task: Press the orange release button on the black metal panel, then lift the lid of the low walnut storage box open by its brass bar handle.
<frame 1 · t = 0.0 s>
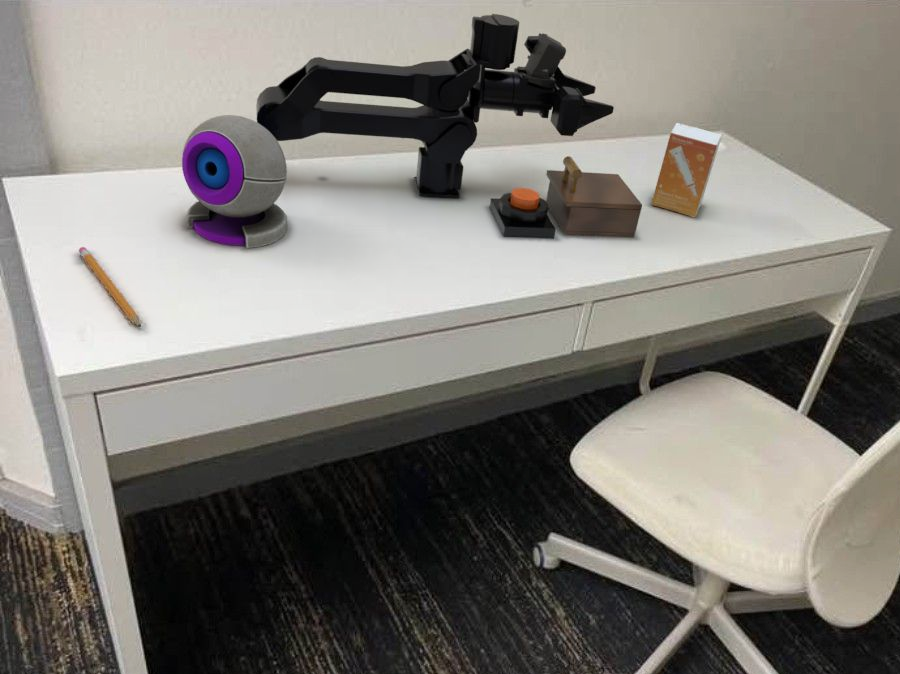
hand: (603, 99, 135), 17 cm above the table, tool horizontal, fingers open, 9 cm apart
small box: (675, 206, 149), on the table
webcam: (238, 227, 117), on the table
lid: (595, 178, 133), point 7 cm above the table, hinge at 0.0°
pencil: (110, 291, 100), on the table
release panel: (520, 223, 133), on the table
storage box: (589, 220, 138), on the table
release button: (524, 199, 130), point 4 cm above the table, slide at 0.1 cm
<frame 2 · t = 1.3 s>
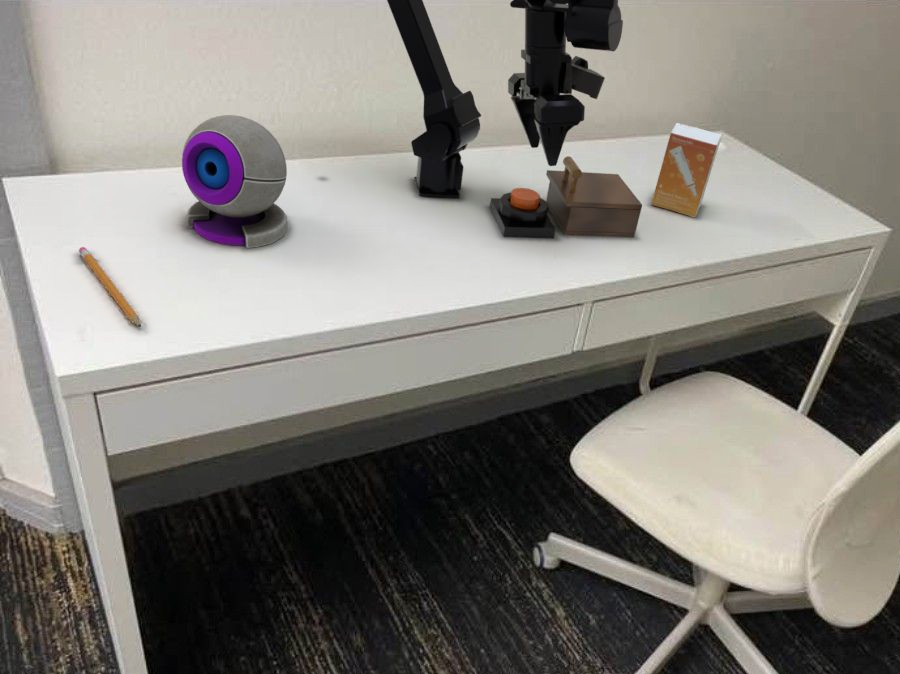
hand: (543, 156, 127), 11 cm above the table, tool pointing down, fingers open, 9 cm apart
nothing on the table moved.
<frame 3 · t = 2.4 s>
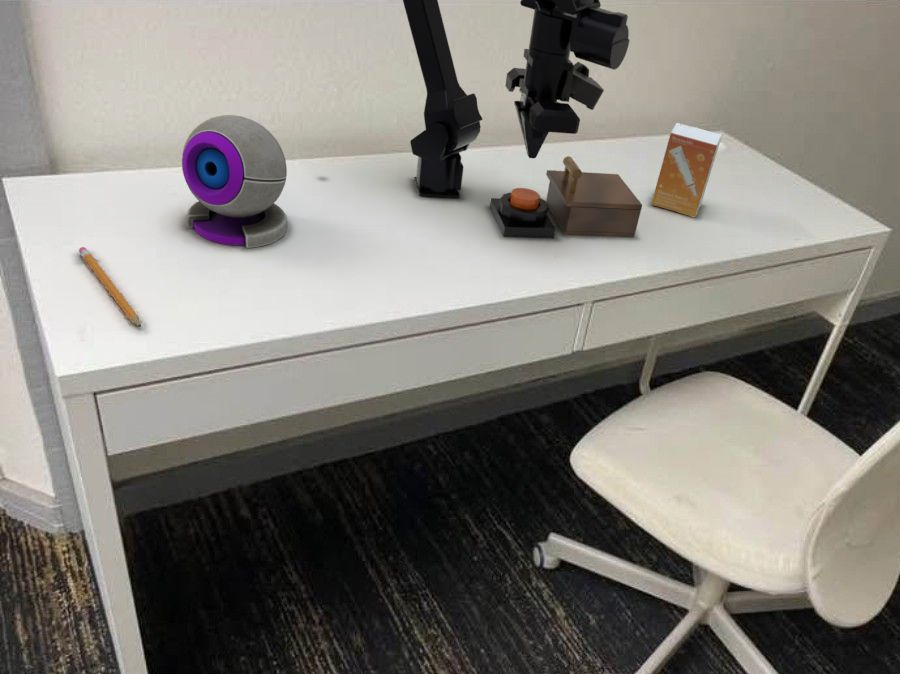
hand: (531, 157, 126), 11 cm above the table, tool pointing down, fingers closed
nothing on the table moved.
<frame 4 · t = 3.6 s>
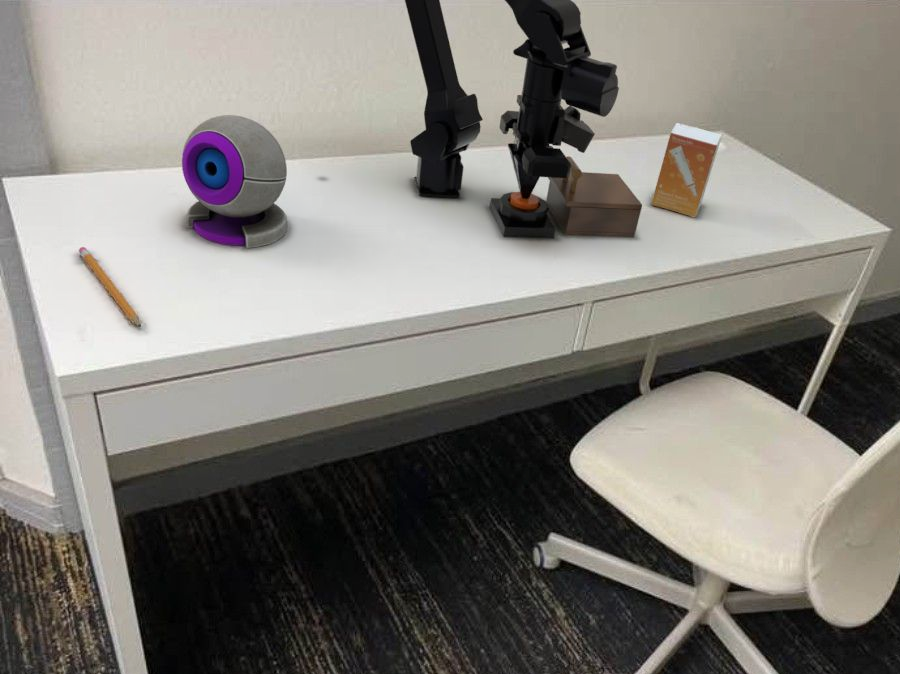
hand: (524, 197, 130), 4 cm above the table, tool pointing down, fingers closed, pressing on release button
release button: (524, 202, 131), point 3 cm above the table, slide at -0.5 cm, touching gripper
everything else where it was.
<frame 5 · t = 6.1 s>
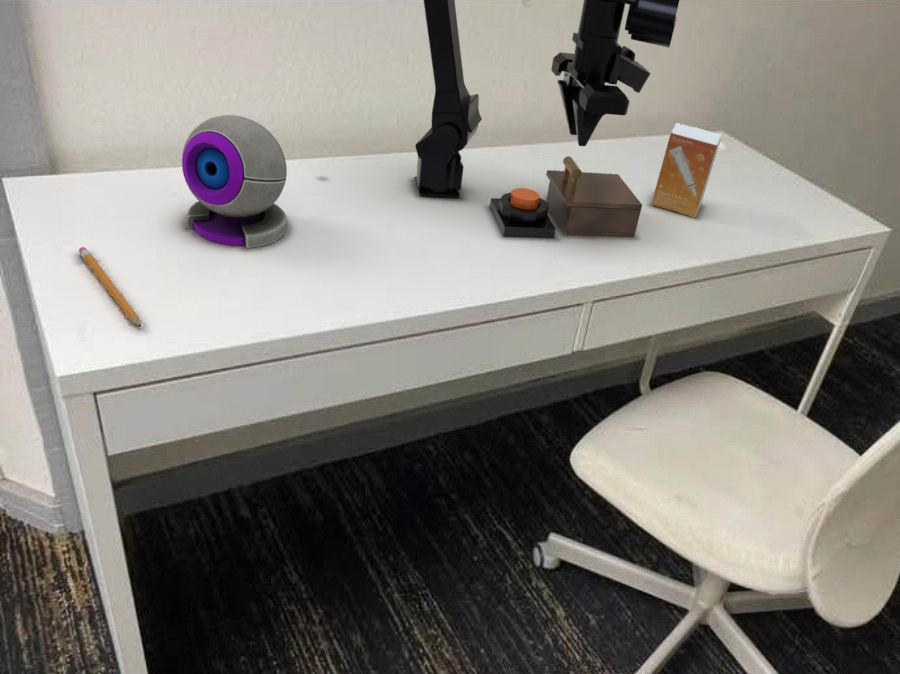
hand: (577, 140, 129), 13 cm above the table, tool pointing down, fingers open, 4 cm apart
release button: (524, 199, 130), point 4 cm above the table, slide at 0.1 cm
everything else where it was.
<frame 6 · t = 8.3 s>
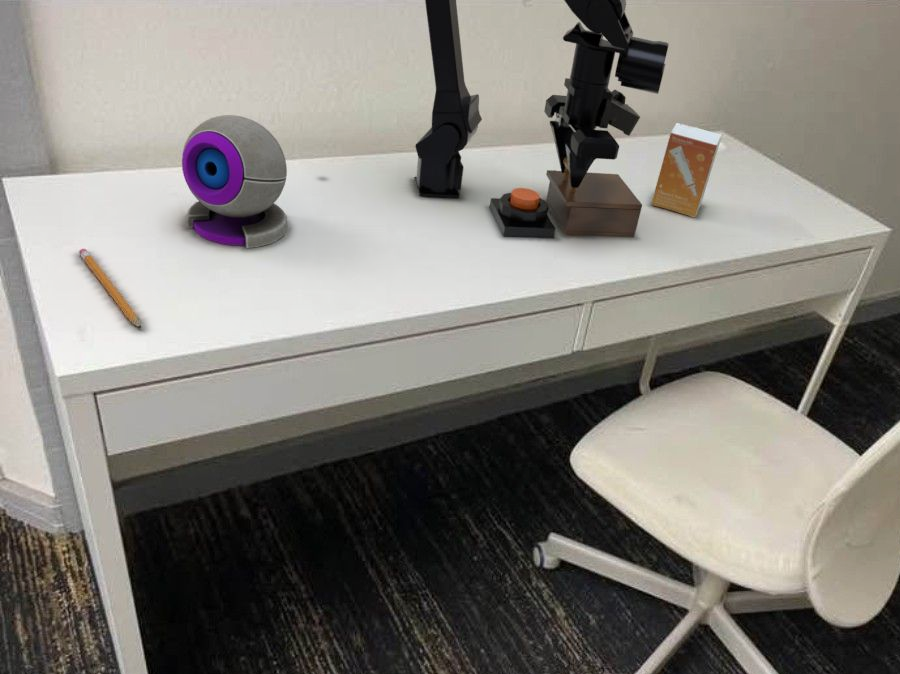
hand: (569, 180, 132), 7 cm above the table, tool pointing down, fingers closed on lid, 5 cm apart
lid: (595, 178, 133), point 7 cm above the table, hinge at 0.0°, touching gripper
everything else where it was.
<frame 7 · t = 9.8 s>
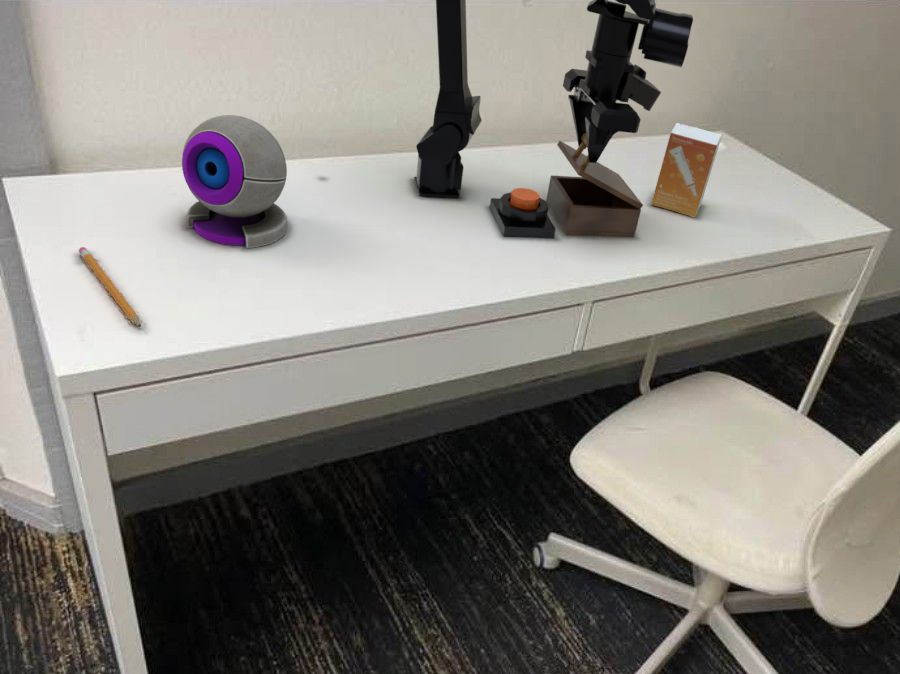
hand: (587, 155, 131), 11 cm above the table, tool pointing down, fingers closed on lid, 5 cm apart
lid: (606, 164, 132), point 10 cm above the table, hinge at 24.0°, touching gripper
everything else where it was.
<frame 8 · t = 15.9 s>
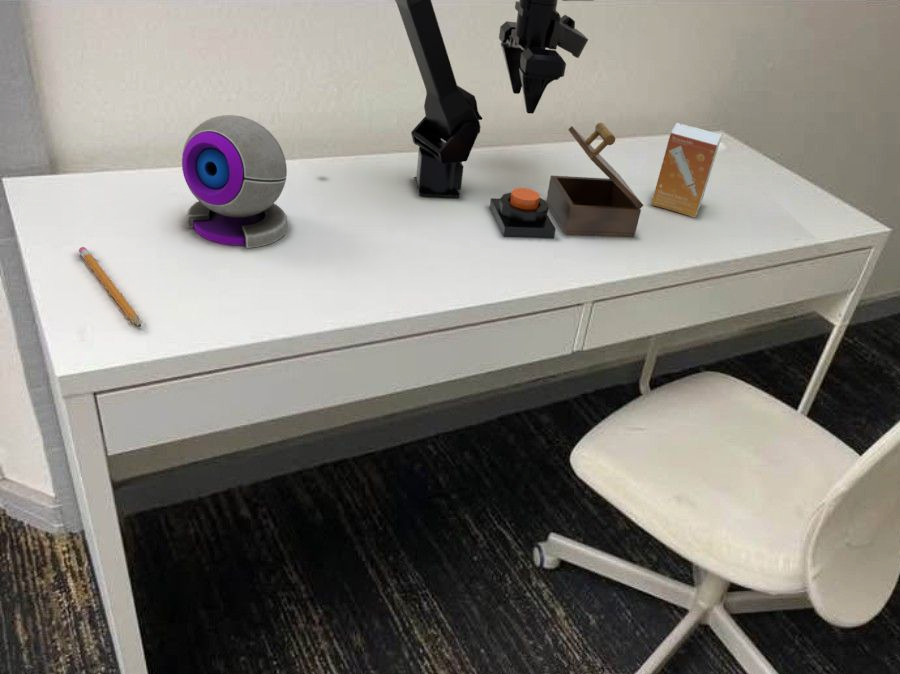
hand: (522, 103, 138), 13 cm above the table, tool pointing down, fingers open, 9 cm apart
lid: (614, 158, 132), point 11 cm above the table, hinge at 37.3°
everything else where it was.
at the end: release button pushed in 1.1 cm at the most during the clip, back to where it started at the end; release button slide at 0.1 cm; lid at +37° (first picture: +0°) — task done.
